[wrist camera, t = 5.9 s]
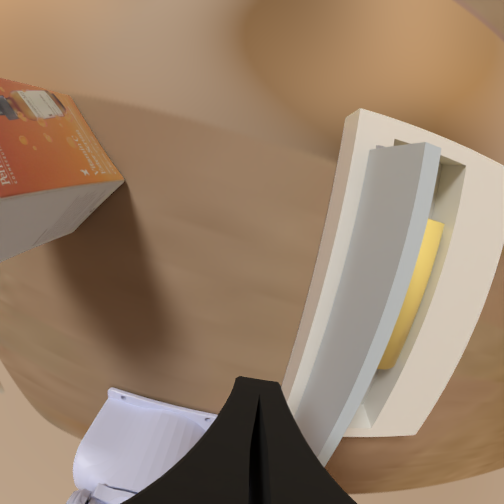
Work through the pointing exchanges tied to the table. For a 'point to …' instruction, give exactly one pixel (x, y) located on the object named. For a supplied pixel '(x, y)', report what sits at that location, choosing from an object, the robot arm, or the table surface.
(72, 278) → the table surface
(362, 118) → the white sliding drawer case
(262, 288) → the table surface
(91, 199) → the small box
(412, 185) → the cover
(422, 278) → the yellow rounded bar
